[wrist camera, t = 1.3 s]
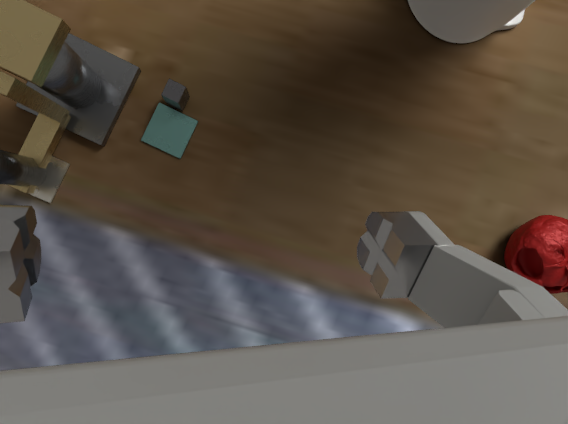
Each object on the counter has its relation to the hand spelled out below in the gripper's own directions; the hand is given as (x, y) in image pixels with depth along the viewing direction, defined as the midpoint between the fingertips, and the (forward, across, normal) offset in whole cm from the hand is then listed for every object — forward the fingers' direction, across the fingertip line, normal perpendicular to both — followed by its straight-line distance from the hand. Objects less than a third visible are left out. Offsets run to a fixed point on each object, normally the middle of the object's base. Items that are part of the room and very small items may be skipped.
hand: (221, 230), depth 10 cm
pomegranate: (+23, -47, +21) cm, 57 cm away
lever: (+40, +11, +15) cm, 44 cm away
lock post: (+40, +7, +16) cm, 44 cm away
